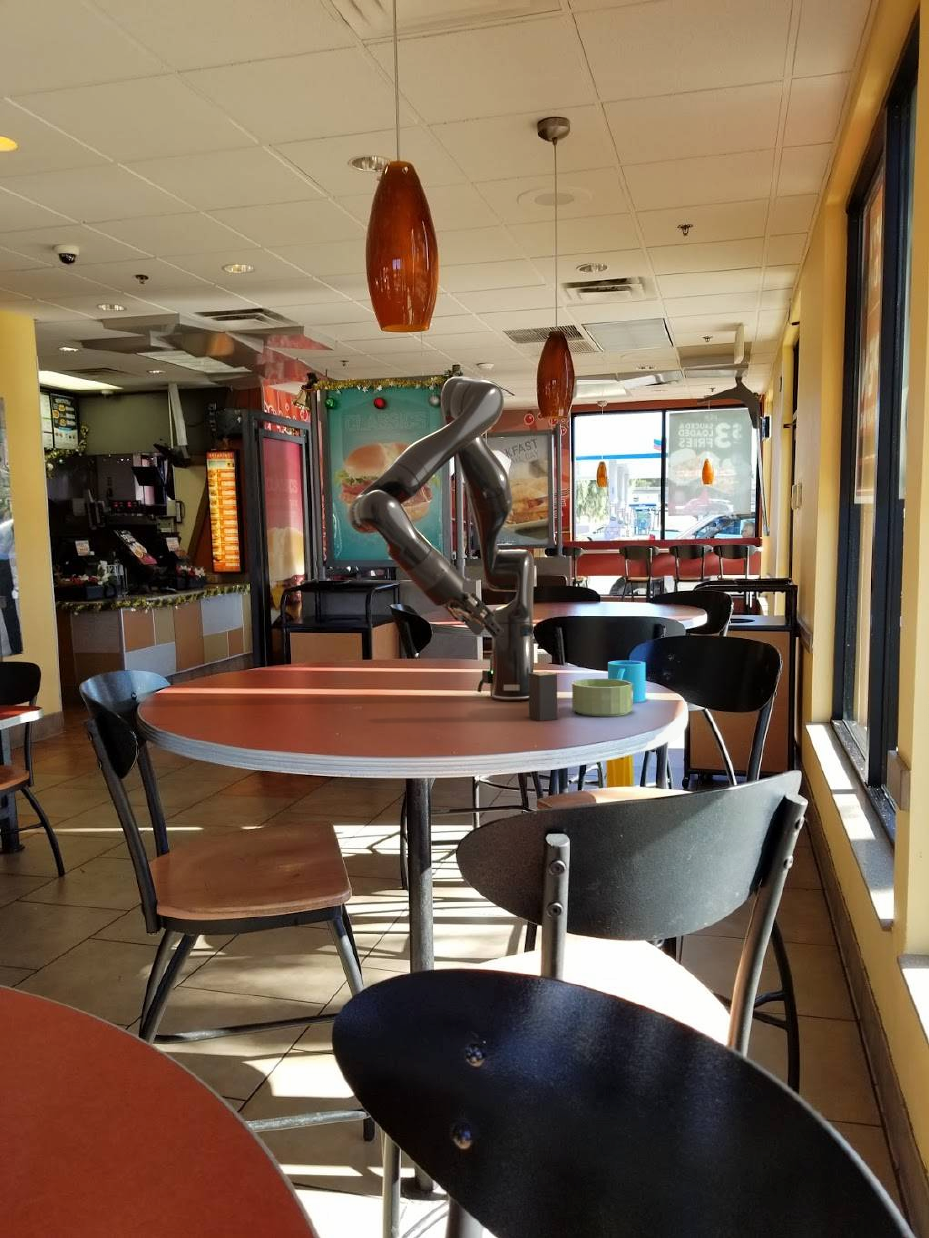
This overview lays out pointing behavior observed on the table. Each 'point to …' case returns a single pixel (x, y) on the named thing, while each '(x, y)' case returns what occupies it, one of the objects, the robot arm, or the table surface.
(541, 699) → the dark rectangular block
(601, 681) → the bowl
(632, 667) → the mug
